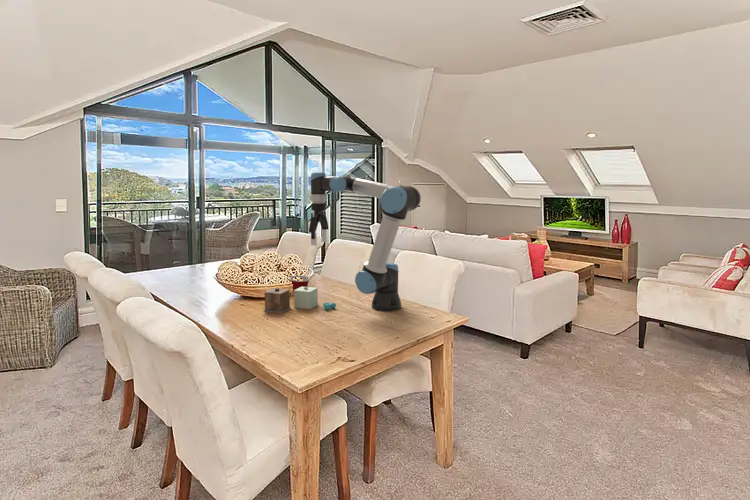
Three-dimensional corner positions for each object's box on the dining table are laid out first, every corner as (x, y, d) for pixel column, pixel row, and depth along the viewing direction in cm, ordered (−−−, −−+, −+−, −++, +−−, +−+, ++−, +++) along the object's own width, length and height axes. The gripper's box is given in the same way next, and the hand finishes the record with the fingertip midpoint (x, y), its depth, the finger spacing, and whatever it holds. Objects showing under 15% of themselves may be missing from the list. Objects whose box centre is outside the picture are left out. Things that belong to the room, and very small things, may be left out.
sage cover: (317, 304, 248) (317, 285, 247) (310, 309, 240) (310, 289, 238) (301, 303, 251) (301, 284, 249) (294, 307, 242) (293, 288, 241)
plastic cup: (296, 302, 252) (296, 280, 250) (286, 298, 260) (286, 277, 258) (314, 299, 258) (313, 277, 257) (304, 295, 267) (303, 274, 265)
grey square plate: (291, 307, 242) (291, 306, 242) (281, 313, 233) (281, 311, 233) (273, 305, 245) (273, 304, 245) (263, 311, 236) (263, 310, 236)
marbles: (336, 307, 242) (336, 302, 242) (332, 311, 237) (332, 305, 236) (304, 304, 247) (304, 299, 247) (299, 308, 242) (299, 302, 241)
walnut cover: (289, 306, 242) (289, 287, 240) (281, 311, 233) (280, 291, 232) (273, 305, 244) (273, 286, 243) (265, 309, 236) (264, 290, 234)
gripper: (321, 201, 257) (321, 240, 260) (301, 203, 233) (302, 246, 237) (334, 201, 255) (334, 240, 258) (315, 204, 231) (316, 247, 235)
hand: (319, 243), depth 247 cm, fingers open, 13 cm apart
